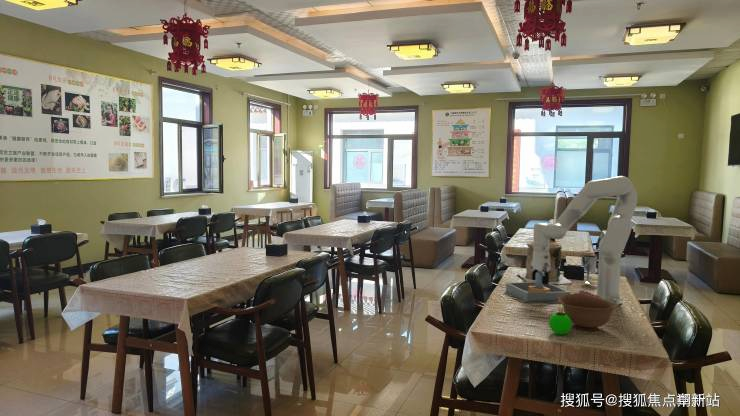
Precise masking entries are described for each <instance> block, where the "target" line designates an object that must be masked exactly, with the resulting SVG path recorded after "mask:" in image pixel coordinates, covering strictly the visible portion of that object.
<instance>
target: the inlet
mask: <svg viewBox="0 0 740 416" xmlns="http://www.w3.org/2000/svg"><path fill="white" fill-rule="evenodd" d="M528 291H530V292H532V293H537V292H550V289H549V288H547V287H544V289H536V288H535V286H529V288H528Z"/></svg>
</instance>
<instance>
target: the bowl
mask: <svg viewBox="0 0 740 416" xmlns="http://www.w3.org/2000/svg"><path fill="white" fill-rule="evenodd" d="M558 303H560V304H561V305H562V306H563V313H565V314H566V315H567V316H568V317H569V318H570V319H571V322H572V324H573V327H574V328H576V329H577V330H580V331H583V332H584V331H585V332H596V331H598V330H599V328H600V327H602V326H604V325H606V324H607V323H608V322H609V320H610V318H611V316H612V312H613V310H614V309H617V308H618V307H619V304H616V303H614V302H611V301H608V300H605V299H602V298H599V297H595V296H591V295H585V294H575V293H570V294H567V295H562V296H560V297H558Z"/></svg>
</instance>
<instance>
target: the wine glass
mask: <svg viewBox="0 0 740 416" xmlns="http://www.w3.org/2000/svg"><path fill="white" fill-rule="evenodd" d="M597 259H598V257H597V255H594V254H581V257H580V261H581V262H580V263H581V265H582V268H583V269H584V270H585V271H586V276H587V277H586V280H581V281H580V283H581V284H587V285H593V284H592V283H594V284H595V282H594V281H591V280H589V279H590V273H591V271H592V270H593V269H594V268H595V267H596V264H597V262H598V261H597Z"/></svg>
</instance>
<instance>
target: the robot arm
mask: <svg viewBox="0 0 740 416" xmlns="http://www.w3.org/2000/svg"><path fill="white" fill-rule="evenodd" d="M610 197H616V201H615V204H614V207H613V210H612V212H611V215H610V218H608V221H607V228H606V231H605V233H604V236H603V237H602V238H601V239H600V241H599V244H598V264H597V265H598V268H597V281H596V282H597V283H596V284H597V285H596V286H597V287H596V295H597V296H599V297H601V298H602V299H605V300H608V301H611V302H614V303H616V304H618V305H621V304H623V301H624V300H623V298H622V297H621V294H620V286H621V285H620V284H621V283H620V282H621V265H622V262H621V261H622V254H623V252H624V250H625V247H626V244H627V243H628V240H629V238H630V235H631V232H632V227H633V224H632V218H633V216H634V214H635V210H636V207H637V203H638V192H637V189H636V187H635V185H634V184H633V183H632V181H631V179H630V178H629V177H626V176H625V175H624V176H623V175H619V176H615V177H610V178H603V179H596V180H594V179H593V180H589V181H588V182H587V183H586V184H584V186H583V187H582V188H581V189H580V191H579V192H578V193H577V194H576V195H575V196H574V198H573V199H572V200H571V201H570V202H569V204H568V205H567V206H566V208H565V209H564V211H563V212H562V213H561V214H560V216H559V217H558V218H557V219H556V220H555V221H554V222H553V224H549V223H546V222H538V223H534V225H533V241H532V242H533V259H532V262H531V268H532V280H535V279H536V272H538V271H541V272H542V274H543V276H542V284H549V274H550V271H551V268H550V253H549V238H552V239H555V240H562V239H563V238H565V236H567V232H568V231H569V230H570V229H571V228H572V227H573V225H574V224H575V223H576V222H577V221H578V220H579V219H581V218H582V217H583V216H584V215H585V214H587V212H588V211H589V210H590V209H591V207H592V206H594V204H595V203H596V202H597V200H599V199H604V198H610Z"/></svg>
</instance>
